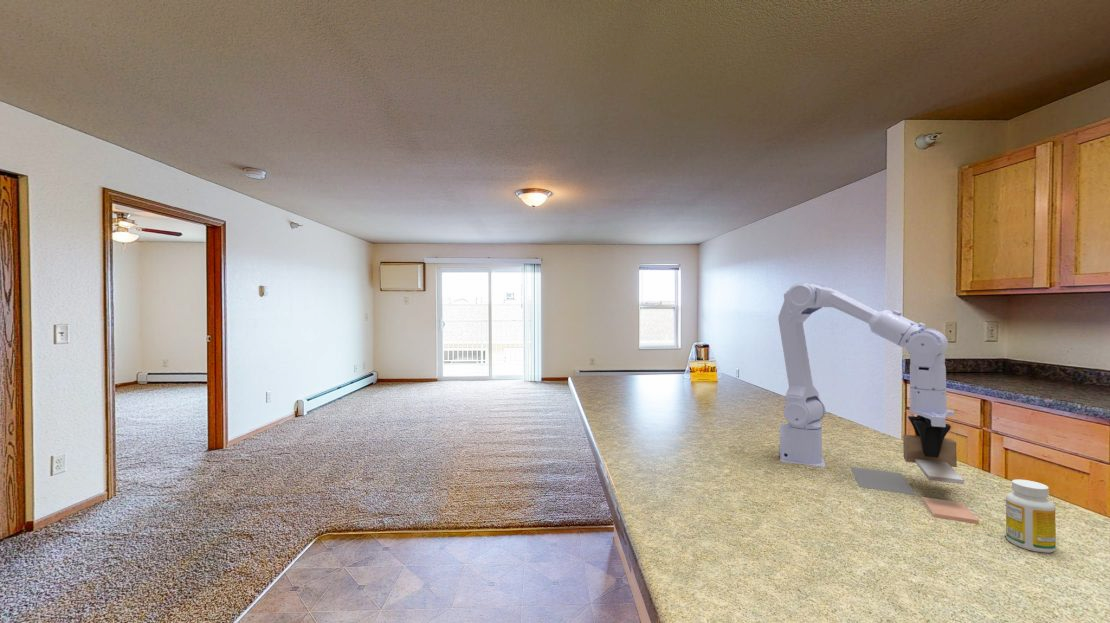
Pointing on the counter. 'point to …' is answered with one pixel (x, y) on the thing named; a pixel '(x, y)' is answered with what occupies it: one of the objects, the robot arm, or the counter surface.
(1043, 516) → the supplement bottle
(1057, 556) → the counter surface
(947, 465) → the brown grey l-shaped piece
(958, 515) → the tile
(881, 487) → the tool rest
